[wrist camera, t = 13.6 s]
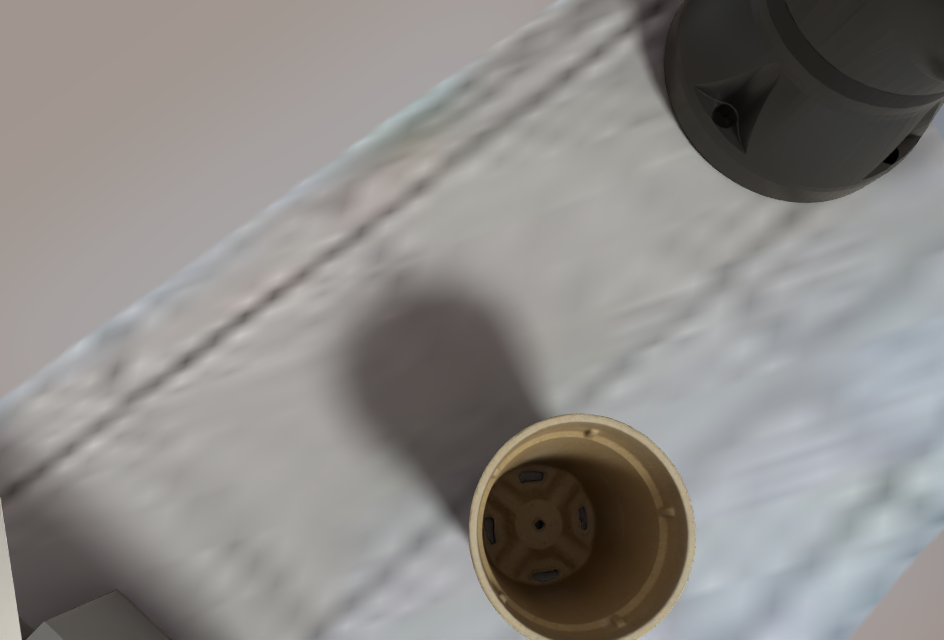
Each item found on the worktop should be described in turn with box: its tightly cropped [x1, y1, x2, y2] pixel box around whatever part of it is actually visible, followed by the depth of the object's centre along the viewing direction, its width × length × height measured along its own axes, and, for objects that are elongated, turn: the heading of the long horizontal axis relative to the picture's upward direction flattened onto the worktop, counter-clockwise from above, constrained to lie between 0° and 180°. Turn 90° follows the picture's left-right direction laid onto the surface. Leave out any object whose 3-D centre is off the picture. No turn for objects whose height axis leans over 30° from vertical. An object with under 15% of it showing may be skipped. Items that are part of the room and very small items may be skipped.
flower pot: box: [469, 414, 696, 640], centre depth 39 cm, size 9×9×9 cm
